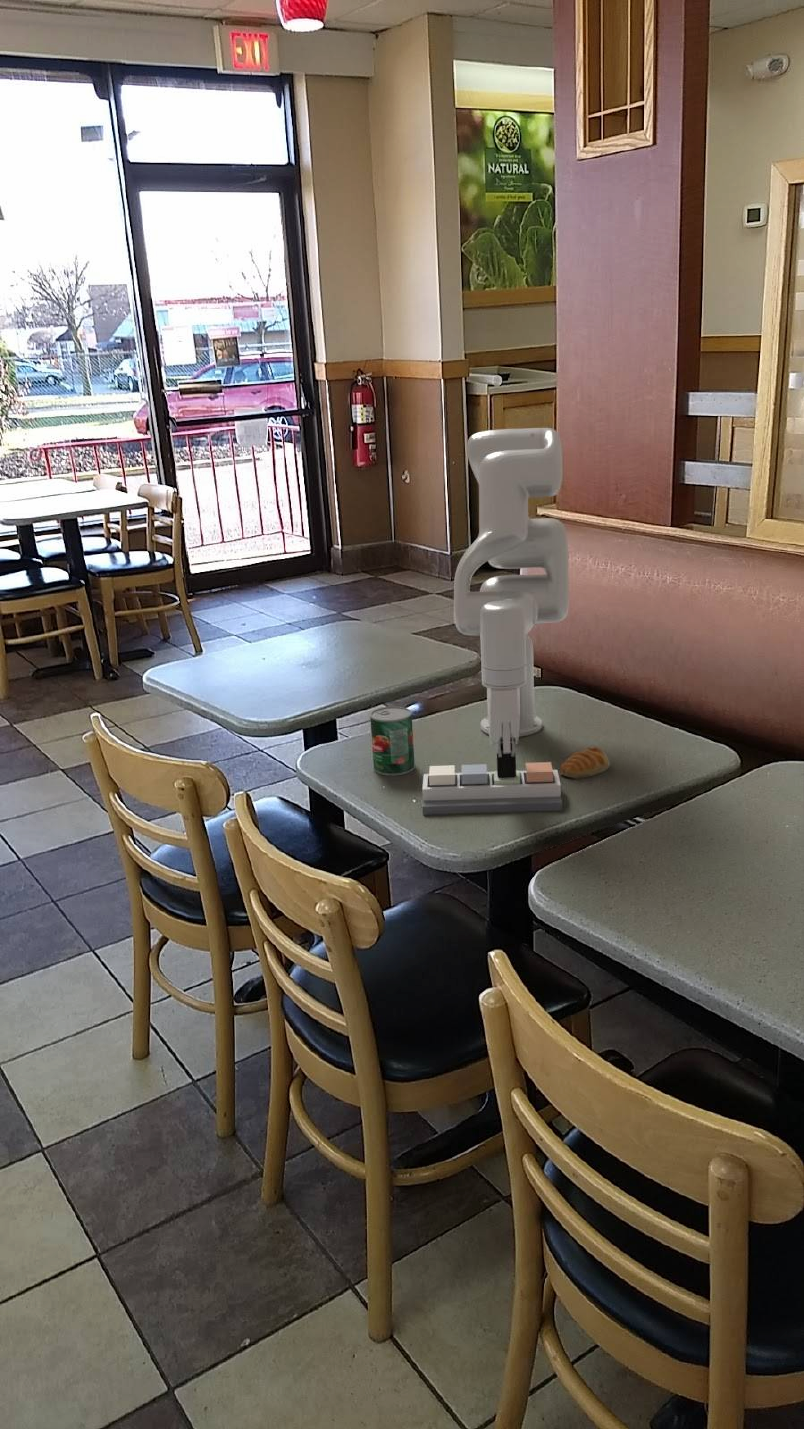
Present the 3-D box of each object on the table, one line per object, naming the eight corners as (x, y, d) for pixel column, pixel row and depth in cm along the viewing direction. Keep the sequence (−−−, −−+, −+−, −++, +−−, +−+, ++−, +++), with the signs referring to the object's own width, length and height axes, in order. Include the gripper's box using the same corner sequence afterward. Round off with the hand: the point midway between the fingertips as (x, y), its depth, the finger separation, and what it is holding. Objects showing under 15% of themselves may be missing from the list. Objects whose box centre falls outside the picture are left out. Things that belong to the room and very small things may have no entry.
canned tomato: (423, 765, 210) (420, 710, 206) (396, 778, 204) (393, 723, 200) (391, 757, 214) (388, 703, 211) (364, 770, 209) (360, 715, 205)
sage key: (494, 780, 194) (493, 771, 194) (519, 779, 194) (518, 770, 193) (494, 790, 190) (494, 780, 189) (520, 789, 190) (520, 779, 189)
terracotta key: (525, 772, 193) (525, 762, 193) (551, 771, 193) (550, 762, 192) (527, 782, 189) (526, 772, 189) (552, 781, 189) (552, 771, 188)
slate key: (461, 774, 194) (461, 765, 194) (486, 773, 194) (486, 764, 193) (461, 784, 190) (461, 774, 189) (487, 783, 190) (487, 773, 189)
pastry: (579, 784, 197) (578, 764, 196) (551, 775, 202) (550, 755, 201) (612, 769, 203) (612, 750, 202) (584, 760, 208) (584, 741, 207)
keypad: (425, 787, 199) (424, 768, 198) (556, 783, 198) (556, 764, 197) (422, 814, 188) (421, 795, 187) (562, 810, 186) (561, 790, 185)
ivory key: (430, 775, 194) (429, 766, 194) (455, 774, 194) (454, 765, 194) (429, 785, 190) (428, 775, 190) (454, 784, 190) (454, 774, 189)
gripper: (480, 663, 193) (484, 761, 198) (482, 689, 178) (485, 793, 184) (524, 661, 192) (526, 759, 198) (528, 687, 178) (531, 792, 184)
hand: (506, 775), depth 191 cm, fingers closed
